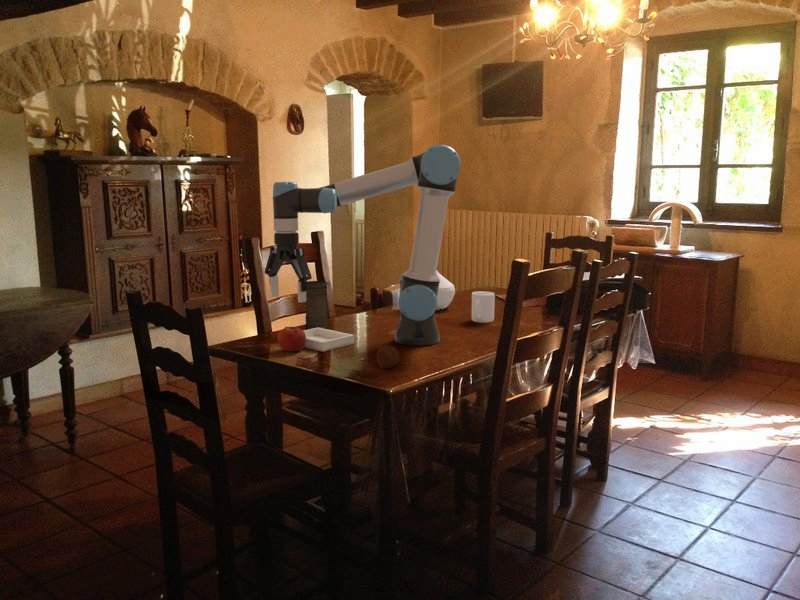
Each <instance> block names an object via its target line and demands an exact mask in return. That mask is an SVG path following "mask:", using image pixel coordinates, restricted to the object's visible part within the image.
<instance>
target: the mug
mask: <svg viewBox="0 0 800 600" xmlns="http://www.w3.org/2000/svg"><path fill="white" fill-rule="evenodd" d="M495 297H496V295H495V292H491V291H481V290H480V291H473V292H472V293H471V321H472V322H475V323H480V324H488V323H492V322H494V320H495Z"/></svg>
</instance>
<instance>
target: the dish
mask: <svg viewBox="0 0 800 600" xmlns="http://www.w3.org/2000/svg"><path fill="white" fill-rule="evenodd" d="M303 331H304V332H305V335H306V343H305V346H304V347H303V348H305V349H310V350H315V351H319V352H328V351H333V350H336V349H339V348H343V347H348V346H351V345H355V334H352V333H345V332H342V331H338V330H332V329H330V330H328V329H323V328H319V327H317V328H313V329H308V330H305V329H304V330H303Z"/></svg>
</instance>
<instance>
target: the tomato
mask: <svg viewBox="0 0 800 600" xmlns="http://www.w3.org/2000/svg"><path fill="white" fill-rule="evenodd" d="M277 341H278V345H279V347H280V349H281V350H282V351H285V352H298V351H300V350H302V349H303V348H305V347H304V346H305V343H306V335H305V332H304V330H303V329H301V328H300V327H299V326H298V327H297V326H284V328H282V329H280V330H279V331H278V333H277Z"/></svg>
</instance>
